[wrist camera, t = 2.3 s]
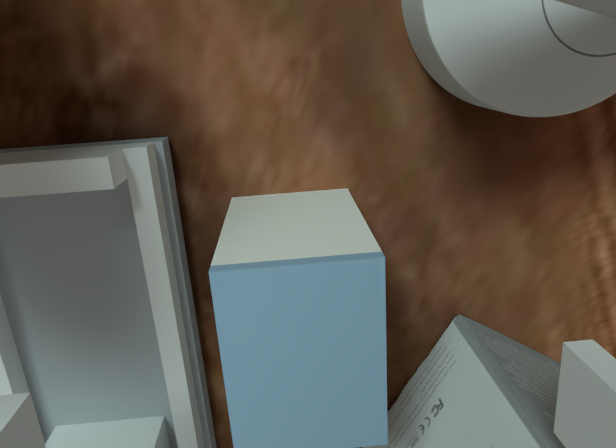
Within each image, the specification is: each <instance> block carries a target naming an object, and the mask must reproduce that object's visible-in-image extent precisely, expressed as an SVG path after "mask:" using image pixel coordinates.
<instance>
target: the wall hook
mask: <svg viewBox="0 0 616 448" xmlns="http://www.w3.org/2000/svg"><path fill="white" fill-rule="evenodd" d="M402 11H403V18H404V22H405V27H406V30H407V34H408V37H409V40H410V42H411V45H412V47H413V49H414V51H415V53H416V55H417V57H418V59H419V61H420V62H421V64H422V65H423V67H424V68H425V69H426V71H427V72H428V73H429V74H430V76H431V77H432V78H433V79H434V80H435V81H436V82H437V83H438V84H439V85H440V86H442V87H443V88H444V89H445V90H447V91H448V92H449V93H451V94H452V95H454V96H456V97H457V98H459V99H461V100H463V101H465V102H468V103H470V104H473V105H476V106H480V107H483V108H487V109H491V110H496V111H500V112H504V113H508V114H512V115H518V116H525V117H553V116H560V115H565V114H569V113H573V112H577V111H580V110H583V109H586V108H588V107H591V106H593V105H595V104H597V103H599V102H602V101H603V100H605V99H607V98H609V97H611V96H612V95H614V94H615V93H616V0H402Z"/></svg>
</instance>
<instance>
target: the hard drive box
mask: <svg viewBox="0 0 616 448" xmlns="http://www.w3.org/2000/svg"><path fill="white" fill-rule="evenodd" d="M560 367H561V363H559V362H557V361H555V360H553V359H551V358H549V357H547V356H545V355H543V354H541V353H539V352H537V351H535V350H533V349H531V348H529V347H527V346H525V345H523V344H521V343H519V342H517V341H515V340H513V339H511V338H509V337H507V336H505V335H503V334H501V333H499V332H497V331H495V330H493V329H491V328H489V327H487V326H484V325H482V324H480V323H478V322H476V321H473V320H471V319H469V318H467V317H465V316H463V315H457V316H456V317H455V318H454V319H453V321H452V322H451V324H450V325H449V326H448V328H447V329H446V331H445V332H444V333H443V335H442V336H441V338H440V339H439V340H438V342H437V343H436V345H435V346H434V348H433V349H432V350H431V352H430V353H429V355H428V356H427V358H426V359H425V360H424V361H423V362H422V363H421V365H420V366H419V368H418V369H417V371H416V372H415V374H414V375H413V376H412V378H411V379H410V380H409V382H408V383H407V384H406V386H405V387H404V389H403V390H402V392H401V394H400V395H399V397H398V399H397V400H396V402H395V403H394V404H393V406H392V407H391V408H390V410H389V411H388V413H387V425H388V444H387V445H377V446H367V447H363V448H565V447H564V445H563V444H562V443H561V441H560V440H559V439H558V437H557V436H556V435H555V433H554V423H555V413H556V404H557V395H558V386H559V377H560Z"/></svg>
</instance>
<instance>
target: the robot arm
mask: <svg viewBox="0 0 616 448" xmlns="http://www.w3.org/2000/svg"><path fill="white" fill-rule="evenodd" d="M554 433H555V435H556V436H557V437H558V439H559V440H560V441H561V443H562V444H563V445H564V447H565V448H616V359H615V358H614V357H613V356H612V355H611V354H609V353H608V352H607V351H606V350H605V349H604V348H602V347H601V346H600V345H599V344H598V343H597V342H595V341H594V340H593V339H592V340H581V341H571V342H563V349H562V358H561V367H560V377H559V386H558V395H557V404H556V413H555V423H554ZM0 448H46V446H45V443H44V439H43V436H42V432H41V429H40V425H39V422H38V418H37V414H36V411H35V407H34V404H33V400H32V397H31V393H20V394H9V395H0Z"/></svg>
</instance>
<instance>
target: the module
mask: <svg viewBox="0 0 616 448" xmlns="http://www.w3.org/2000/svg"><path fill="white" fill-rule="evenodd" d="M209 279H210V286H211V293H212V300H213V307H214V314H215V321H216V328H217V335H218V342H219V349H220V356H221V363H222V370H223V377H224V384H225V391H226V398H227V405H228V412H229V419H230V426H231V433H232V440H233V447H234V448H356V447H367V446H377V445H387V444H388V425H387V353H386V281H385V256H384V254H383V252H382V251H381V249H380V247H379V245H378V243H377V242H376V240H375V238H374V236H373V234H372V232H371V231H370V229H369V227H368V225H367V223H366V221H365V220H364V218H363V216H362V214H361V212H360V210H359V209H358V207H357V205H356V203H355V201H354V199H353V198H352V196H351V194H350V192H349V190H348V189H347V188H346V189H334V190H321V191H308V192H296V193H283V194H270V195H257V196H245V197H232V199H231V202H230V205H229V208H228V211H227V215H226V218H225V221H224V224H223V227H222V231H221V234H220V237H219V240H218V244H217V247H216V250H215V253H214V256H213V260H212V263H211V266H210V269H209Z"/></svg>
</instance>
